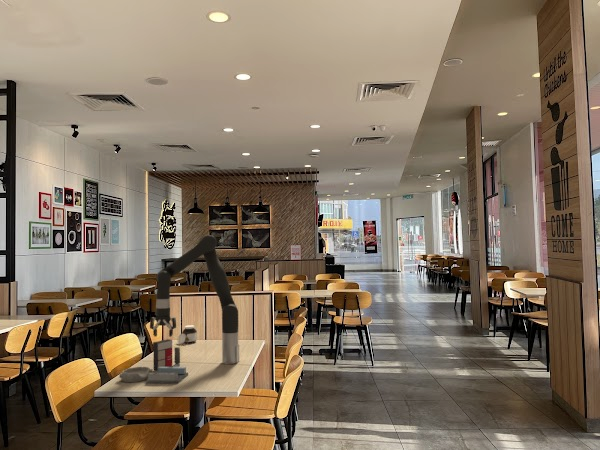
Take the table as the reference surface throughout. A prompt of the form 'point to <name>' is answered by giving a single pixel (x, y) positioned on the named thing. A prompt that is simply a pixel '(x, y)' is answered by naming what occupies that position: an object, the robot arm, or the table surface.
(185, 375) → the vise
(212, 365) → the table surface
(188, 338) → the spread jar
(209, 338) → the table surface
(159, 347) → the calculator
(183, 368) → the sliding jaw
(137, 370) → the dish
